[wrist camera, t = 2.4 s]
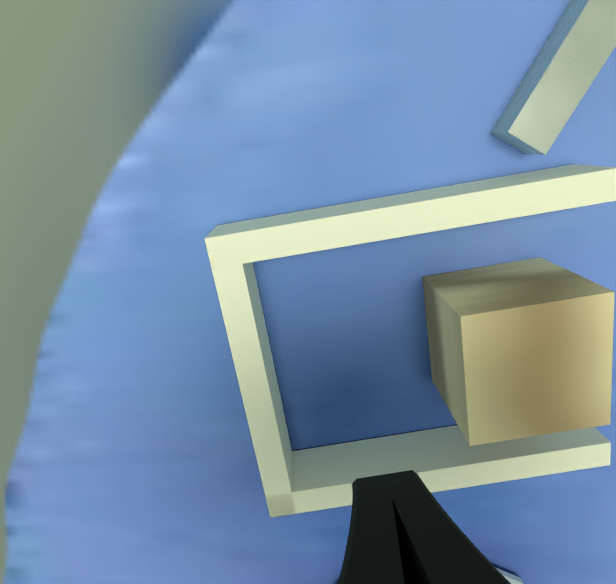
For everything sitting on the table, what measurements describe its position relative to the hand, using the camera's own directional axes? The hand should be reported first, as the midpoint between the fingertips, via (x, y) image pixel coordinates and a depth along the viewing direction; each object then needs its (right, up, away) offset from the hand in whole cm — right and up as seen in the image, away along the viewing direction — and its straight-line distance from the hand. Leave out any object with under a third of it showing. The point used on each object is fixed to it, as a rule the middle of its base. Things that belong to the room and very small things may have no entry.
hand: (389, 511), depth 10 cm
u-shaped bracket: (+3, +3, +8) cm, 9 cm away
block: (+5, +4, +9) cm, 11 cm away
